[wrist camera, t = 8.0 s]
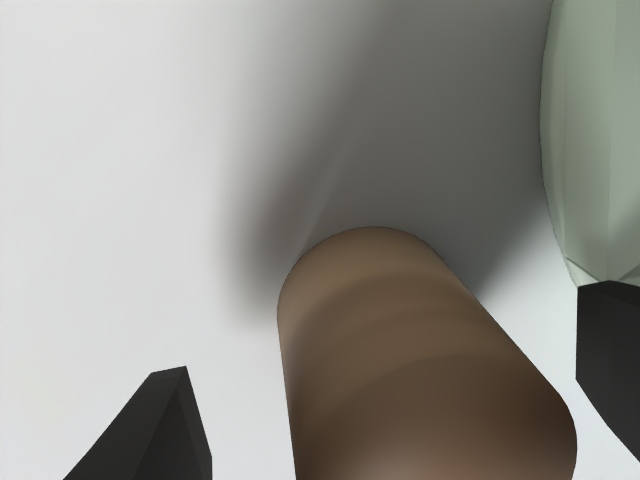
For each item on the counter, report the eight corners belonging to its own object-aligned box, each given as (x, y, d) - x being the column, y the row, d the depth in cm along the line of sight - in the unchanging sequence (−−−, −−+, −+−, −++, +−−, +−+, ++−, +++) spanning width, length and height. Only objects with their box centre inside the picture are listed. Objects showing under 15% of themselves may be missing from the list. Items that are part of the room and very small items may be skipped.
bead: (459, 369, 13) (575, 550, 9) (293, 404, 13) (322, 609, 8) (448, 211, 12) (579, 326, 7) (260, 246, 12) (274, 389, 7)
